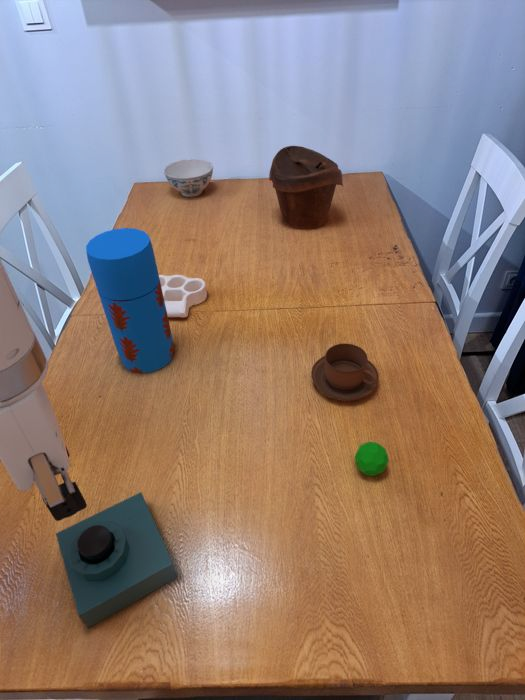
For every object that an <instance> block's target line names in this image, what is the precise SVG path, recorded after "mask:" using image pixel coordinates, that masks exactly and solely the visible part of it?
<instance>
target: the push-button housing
mask: <svg viewBox="0 0 525 700" xmlns="http://www.w3.org/2000/svg"><path fill="white" fill-rule="evenodd" d="M95 525H101V526H104V527H106V528H107V529H108V530H109V532H110V534H111V536H112V538H113V540H114V548H113V551H112V553H111V554H110V556H109V557H108V558H107V559H105V560H104V561H102V562H99V563H89V562H87V561H85V560H84V558H83V557H82V555H81V553H80V552H79V550H78V547H77V543H78V539H79V537H80V535H81V534H82V533H83V532H84V531H85V530H86V529H88V528H89V527H92V526H95ZM55 535H56V539H57V543H58V547H59V550H60V555H61V557H62V561H63V565H64V569H65V572H66V575H67V580H68V583H69V587H70V590H71V594H72V597H73V601H74V603H75V605H74V606H75V608H76V612H77V615H78V617H79V618H80V620H81V621H82V623H83V624H84V625H85V626H86V627H87V629H89V628H91V627H93V626H94V625H96V624H98V623H100V622H101V621H104V620H105V619H107V618H108V617H111V616H112V615H114V614H116V613H117V612H119V611H121V610H123V609H124V608H126V607H128V606H130V605H131V604H133V603H135V602H137V601H139V600H140V599H142V598H143V597H145V596H147V595H149V594H151V593H153V592H155V591H156V590H158V589H159V588H161V587H163V586H165V585H167V584H169V583H171V582H172V581H175V579H178V577H179V576H178V572H177V569H176V567H175V564H174V562H173V559H172V557H171V555H170V552H169V550H168V549H167V546H166V544H165V541H164V540H163V536H162V535H161V533H160V530H159V529H158V526H157V524H156V522H155V519H154V517H153V515H152V513H151V511H150V508H149V506H148V504H147V502H146V499H145V497H144V495H143V492H142V491H140V492H137V493H136V494H134V495H131V496H130V497H127V498H125V499H124V500H122V501H120V502H118V503H116V504H113V505H111V506H110V507H108V508H105V509H103V510H101V511H99V512H97V513H95V514H93V515H91V516H89V517H87V518H85V519H83V520H81V521H79V522H77V523H75V524H72V525H70V526H69V527H66V528H64V529H63V530H61V531H58V532H56V533H55Z"/></svg>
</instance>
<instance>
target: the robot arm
mask: <svg viewBox="0 0 525 700" xmlns="http://www.w3.org/2000/svg"><path fill="white" fill-rule="evenodd" d="M48 370H49V362H48V360H47V357H46V355H45V353H44V351H43V348H42V346H41V344H40V341H39V339H38V338H37V335H36V333H35V331H34V330H33V328H32V325H31V323H30V321H29V319H28V315H27V314H26V312H25V310H24V307H23V306H22V303H21V301H20V299H19V297H18V294H17V291H16V289H15V288H14V285H13V283H12V281H11V279H10V277H9V275H8V273H7V271H6V268H5V266H4V264H3V261H2V259H1V258H0V461H1V463H2V464H3V467H4V468H5V469H6V471H7V473H8V475H9V476H10V478H11V480H12V482H13V483H14V485H15V487H16V489H18V490H19V491H22V492H26V491H29V490H31V489H33V487H34V484H35V485H36V487H37V489H38V491H39V494H40V495H41V498H42V501H43V503H44V505H45V506H46V508H47V509H48V511H49V513H50V514H51V516H52V517H53V519H54V521H55V522H60V521H62V520H64V519H67V518H70V517H72V516H74V515H76V514H77V513H79V512H81V511H83V510H85V509H86V508H88V504H87V502H86V501H87V500H86V499H85V498H84V496H83V494H82V492H81V490H80V488H79V486H78V484H77V482H76V481H72V479H71V477H70V475H69V473H68V472H69V470H70V468H71V461H70V457H71V456H70V455H71V454H70V452H69V450H68V448H67V446H66V444H65V441H64V437H63V434H62V430H61V428H60V424H59V421H58V418H57V416H56V413H55V410H54V408H53V405H52V403H51V400H50V397H49V395H48V393H47V391H46V388H45V386H44V384H43V381H44V380H45V378H46V376H47V374H48ZM57 475H60V477H61V479H62V480H63V482H62V483H60V484H59V482H58V480H57V478H56V476H57Z"/></svg>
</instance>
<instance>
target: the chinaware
mask: <svg viewBox="0 0 525 700" xmlns="http://www.w3.org/2000/svg"><path fill="white" fill-rule="evenodd" d="M213 172H214V165H213V164H212V163H211V162H210V161H208V160H205V159H199V158H190V159H189V158H188V159H180V160H177V161H174V162H172V163H168V164H167V166H165V167H164V169H163V174H164V175H165V178H166V180H167V182H168V184H169V185H170V186H171V187H172V188H173V189H174V190H175V191H178V192H179V193H181V195H182V197H187V198H194V197H198V196H200V195H201V194H202V193H203V190H205V188H207V187H208V186H209V184H210V182H211V180H212V177H213Z"/></svg>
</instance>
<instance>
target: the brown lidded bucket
mask: <svg viewBox="0 0 525 700" xmlns="http://www.w3.org/2000/svg"><path fill="white" fill-rule="evenodd" d="M271 162H272V163H271V166H270V169H269V175H268V180H269V181H271V182H272V188H274V190H275V194H276V197H277V202H278V206H279V210H280V215H281V219H282V222H283V223H285V225H286V226H287V227H289V228H293V229H298V230H299V229H301V230H310V229H311V230H312V229H316V228H319V227H322V226H323V225H324V224H325V223H326V222H327V220H328V217H329V213H330V211H331V205H332V202H333V198H334V196H335V191H336V188H337V185H338V186H342V187H344V183H343V182H344V181H343V172H342V170H341V169H340V168H339V165H338V164H337V163H336V162H335V161H333V160H332V159H330V158H329V157H328V156H326V155H323V154H322V153H320V152H318V151H316V150H314V149H310V148H307V147H304V146H299V145H287V146H285V147H282V148H281V149H279V150H278V151H277V153H276V154H275V155H274V157H273V159H272V161H271Z"/></svg>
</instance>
